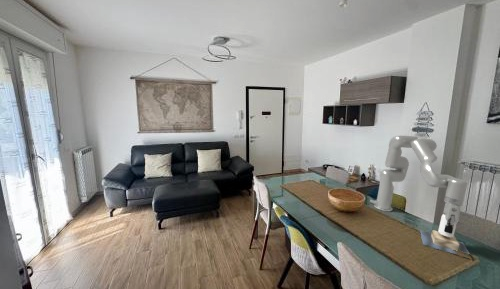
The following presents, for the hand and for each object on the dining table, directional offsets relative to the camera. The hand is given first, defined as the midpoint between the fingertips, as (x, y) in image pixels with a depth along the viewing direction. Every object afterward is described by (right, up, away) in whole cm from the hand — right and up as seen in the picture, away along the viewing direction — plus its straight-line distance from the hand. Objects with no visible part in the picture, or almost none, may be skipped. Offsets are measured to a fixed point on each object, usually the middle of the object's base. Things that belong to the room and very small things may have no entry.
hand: (446, 229), depth 119 cm
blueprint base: (-1, -9, +1) cm, 9 cm away
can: (0, -3, +1) cm, 3 cm away
